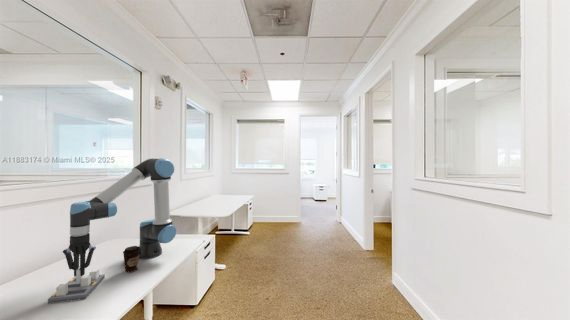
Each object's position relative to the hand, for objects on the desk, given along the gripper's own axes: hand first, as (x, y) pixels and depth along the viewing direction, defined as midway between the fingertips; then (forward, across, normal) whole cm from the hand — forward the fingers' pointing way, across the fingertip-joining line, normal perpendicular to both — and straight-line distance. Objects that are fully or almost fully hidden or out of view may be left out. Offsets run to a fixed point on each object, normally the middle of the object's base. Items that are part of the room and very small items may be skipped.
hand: (79, 282), depth 121 cm
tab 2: (+2, -3, 0) cm, 3 cm away
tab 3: (+2, -3, -7) cm, 8 cm away
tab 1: (+2, +4, +7) cm, 8 cm away
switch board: (+4, 0, 0) cm, 4 cm away
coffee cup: (+4, -18, -17) cm, 25 cm away
